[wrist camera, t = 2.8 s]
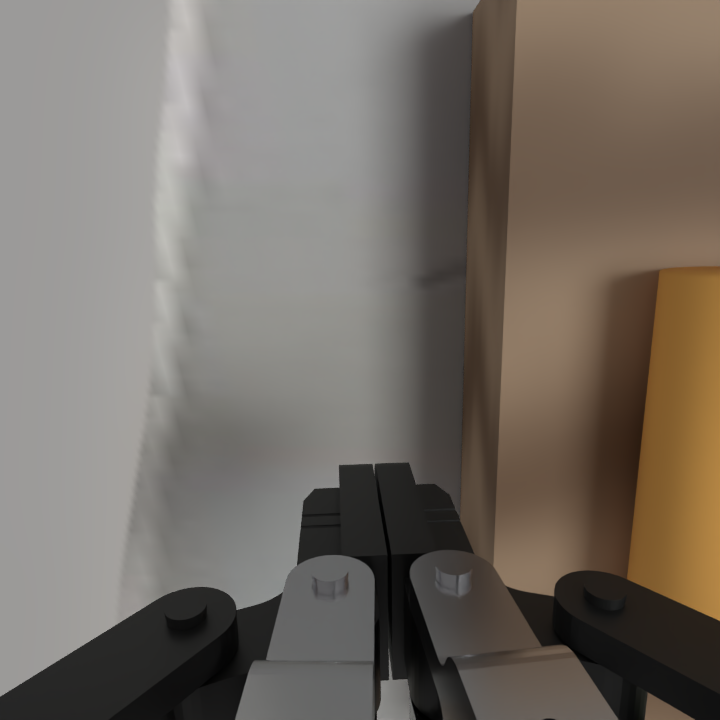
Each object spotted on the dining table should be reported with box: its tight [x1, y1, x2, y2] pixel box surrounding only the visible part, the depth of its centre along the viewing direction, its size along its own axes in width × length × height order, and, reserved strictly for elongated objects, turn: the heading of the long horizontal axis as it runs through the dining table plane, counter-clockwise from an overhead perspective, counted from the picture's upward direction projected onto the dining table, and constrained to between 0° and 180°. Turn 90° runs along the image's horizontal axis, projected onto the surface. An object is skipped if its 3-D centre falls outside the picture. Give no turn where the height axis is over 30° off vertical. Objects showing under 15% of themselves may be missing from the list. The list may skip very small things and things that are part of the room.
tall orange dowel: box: [627, 266, 720, 621], centre depth 13 cm, size 9×3×3 cm
